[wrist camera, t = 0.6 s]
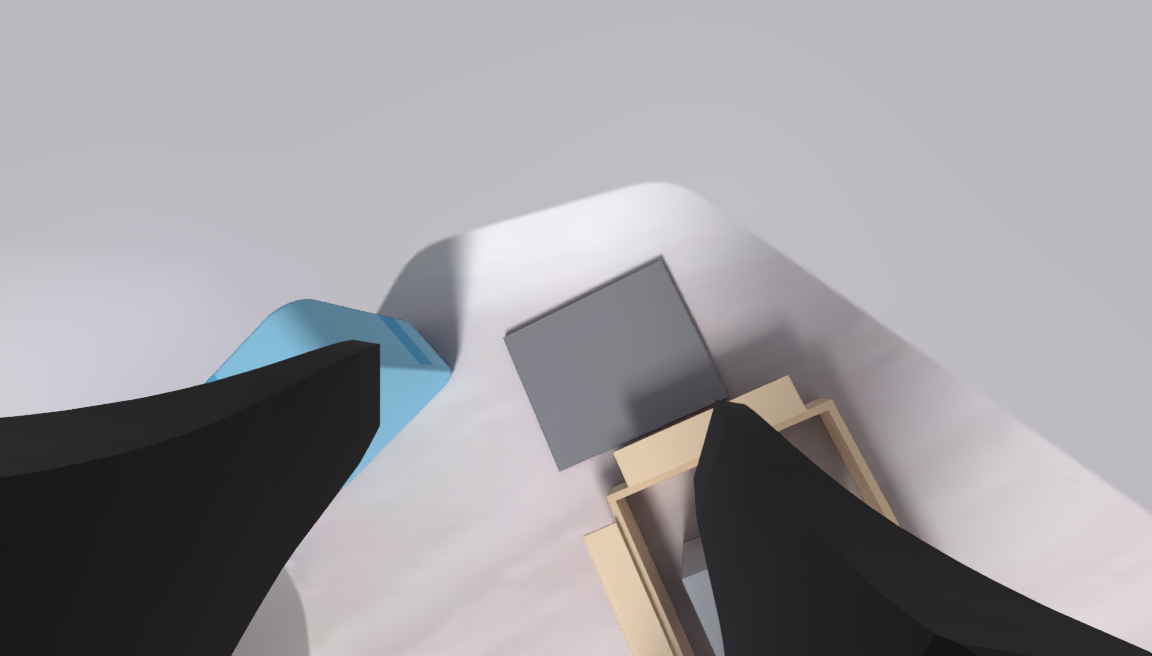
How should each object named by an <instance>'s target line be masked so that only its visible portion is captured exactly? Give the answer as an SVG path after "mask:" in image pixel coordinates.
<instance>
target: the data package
mask: <svg viewBox="0 0 1152 656" xmlns="http://www.w3.org/2000/svg"><path fill="white" fill-rule="evenodd" d="M347 340H358V341H364V342H370V343H377V344H380V427H379V429H378V431H377V433H376V435H375V437H374V438H373V440H372V442H371V444H370V446H369V448H368V450H367V451H366V453H365V455H364V457H363V459H362V460H361V462H360V464H359V465H358V467H357V468H356V469H355V471H354V472H353V473H352V475H351V476H350V478H349V479H348V480H347V482H346V483H345V484H344V486H346V485H347V484H348V483H349V482H350V481H351V480H352V479H353V478H354V477H355V476H356V475H357V474H358V473H359V472H360V471H361V470H362V469H363V468H364V467H365V466H366V465H367V464H368V463H369V462H370V461H371V460H372V459H373V458H374V457H375V456H376V455H377V454H378V453H379V452H380V451H381V450H382V449H383V448H384V447H385V446H386V445H387V444H388V443H389V442H390V441H391V440H392V439H393V438H394V437H395V436H396V435H397V434H398V433H399V432H400V431H401V430H402V429H403V428H404V427H405V426H406V425H407V424H408V423H409V422H410V421H411V420H412V419H413V418H414V417H415V416H416V415H417V413H418V412H419V411H420V410H421V409H422V408H423V407H424V406H425V405H426V404H427V403H428V402H429V401H430V400H431V399H432V398H433V397H434V396H435V395H436V394H437V393H438V392H439V391H440V390H441V389H442V388H443V387H444V386H445V385H446V383H447V382H448V381H449V379H450V377H451V369H450V368H449V367H448V365H447V364H446V363H445V362H444V361H443V360H442V359H441V357H440V356H439V355H438V354H437V353H436V352H435V351H434V349H433V348H432V347H431V346H430V345H429V344H428V342H427V341H426V340H425V339H424V338H423V337H422V336H421V334H420V333H419V332H418V331H417V330H416V329H415V328H414V326H413V325H412V324H411V323H409V322H407V321H403V320H399V319H394V318H390V317H386V316H382V315H377V314H373V313H368V312H364V311H360V310H356V309H351V308H347V307H343V306H339V305H334V304H330V303H326V302H321V301H317V300H312V299H303V300H297V301H294V302H291V303H288V304H286V305H284V306H282V307H280V308H278V309H277V310H275V311H274V312H273V313H271V314H270V315H269V316H268V317H267V318H266V319H265V320H264V321H263V322H262V323H261V324H260V325H259V326H258V327H257V328H256V329H255V330H254V332H253V333H252V334H251V335H250V336H249V337H248V338H247V339H246V340H245V341H244V342H243V343H242V344H241V345H240V346H239V348H238V349H237V350H236V351H235V352H234V353H233V354H232V355H231V356H230V357H229V358H228V359H227V360H226V361H225V362H224V364H222V366H221V367H220V368H219V369H218V370H217V371H216V372H215V373H214V374H213V375H212V376H211V377H210V379H208V380H207V382H206V383H209V382H213V381H216V380H220V379H223V378H226V377H230V376H233V375H236V374H240V373H243V372H247V371H250V370H253V369H257V368H260V367H263V366H267V365H270V364H273V363H276V362H279V361H282V360H285V359H288V358H291V357H294V356H297V355H300V354H303V353H306V352H309V351H312V350H315V349H318V348H321V347H325V346H328V345H331V344H335V343H338V342H342V341H347ZM344 486H343V487H344ZM343 487H342V488H343ZM342 488H341V489H342Z"/></svg>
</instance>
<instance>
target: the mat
mask: <svg viewBox="0 0 1152 656" xmlns="http://www.w3.org/2000/svg"><path fill="white" fill-rule="evenodd" d="M503 339H504V341H505V344H506V346H507V348H508V351H509V353H510V355H511V358H512V360H513V363H514V365H515V367H516V370H517V372H518V374H519V377H520V379H521V381H522V384H523V386H524V389H525V391H526V393H527V396H528V398H529V400H530V403H531V405H532V408H533V410H534V412H535V415H536V417H537V419H538V422H539V424H540V427H541V429H542V431H543V434H544V436H545V438H546V441H547V443H548V446H549V448H550V450H551V453H552V455H553V457H554V460H555V462H556V465H557V467H558V469H559V472H560V471H562V470H564V469H567V468H569V467H571V466H573V465H576V464H578V463H580V462H582V461H585V460H587V459H589V458H591V457H594V456H596V455H598V454H601V453H603V452H605V451H607V450H610V449H612V448H614V447H616V446H619V445H621V444H623V443H625V442H628V441H630V440H632V439H634V438H637V437H639V436H641V435H643V434H646V433H648V432H650V431H652V430H655V429H657V428H659V427H661V426H664V425H666V424H668V423H670V422H673V421H675V420H677V419H679V418H682V417H684V416H686V415H688V414H691V413H693V412H695V411H697V410H700V409H702V408H704V407H706V406H709V405H711V404H713V403H715V401H716V399H717V400H722V399H724V398H727V397H729V395H728V393H727V391H726V389H725V387H724V385H723V383H722V381H721V379H720V377H719V375H718V373H717V371H716V369H715V367H714V365H713V363H712V361H711V359H710V357H709V355H708V353H707V351H706V349H705V347H704V345H703V343H702V341H701V339H700V337H699V335H698V333H697V331H696V329H695V327H694V325H693V323H692V321H691V319H690V317H689V315H688V313H687V311H686V309H685V307H684V305H683V303H682V301H681V299H680V297H679V295H678V293H677V291H676V289H675V287H674V285H673V283H672V281H671V279H670V277H669V275H668V273H667V271H666V269H665V267H664V265H663V263H662V261H661V260H660V261H658V262H656V263H654V264H652V265H650V266H648V267H646V268H644V269H642V270H640V271H638V272H636V273H634V274H632V275H630V276H628V277H626V278H624V279H622V280H620V281H617V282H615V283H613V284H611V285H609V286H607V287H605V288H603V289H601V290H599V291H597V292H595V293H593V294H591V295H589V296H587V297H585V298H583V299H581V300H579V301H577V302H575V303H573V304H571V305H569V306H567V307H565V308H563V309H561V310H559V311H557V312H555V313H553V314H550V315H548V316H546V317H544V318H542V319H540V320H538V321H536V322H534V323H532V324H530V325H528V326H526V327H524V328H522V329H520V330H518V331H516V332H514V333H512V334H510V335H508V336H506V337H504V338H503Z"/></svg>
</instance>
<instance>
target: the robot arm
mask: <svg viewBox="0 0 1152 656" xmlns="http://www.w3.org/2000/svg"><path fill="white" fill-rule="evenodd" d="M379 427H380V344H377V343H370V342H364V341H358V340H347V341H342V342H338V343H335V344H331V345H328V346H325V347H321V348H318V349H315V350H312V351H309V352H306V353H303V354H300V355H297V356H294V357H291V358H288V359H285V360H282V361H279V362H276V363H273V364H270V365H267V366H263V367H260V368H257V369H253V370H250V371H247V372H243V373H240V374H236V375H233V376H230V377H226V378H223V379H220V380H216V381H213V382H209V383H205V384H202V385H198V386H193V387H190V388H185V389H181V390H177V391H172V392H168V393H163V394H158V395H154V396H149V397H144V398H139V399H134V400H128V401H121V402H115V403H110V404H103V405H97V406H90V407H84V408H78V409H72V410H66V411H58V412H50V413H41V414H32V415H24V416H15V417H3V418H0V656H231V655H232V653H233V652H234V649H235V648H236V646H237V644H238V643H239V641H240V639H241V637H242V636H243V634H244V632H245V630H246V629H247V627H248V625H249V623H250V622H251V620H252V618H253V616H254V615H255V613H256V611H257V610H258V608H259V606H260V605H261V603H262V601H263V600H264V598H265V596H266V595H267V593H268V591H269V590H270V588H271V586H272V585H273V583H274V581H275V580H276V578H277V577H278V575H279V573H280V572H281V570H282V568H283V567H284V565H285V564H286V563H287V561H288V560H289V558H290V557H291V555H292V554H293V552H294V551H295V549H296V548H297V547H298V545H299V544H300V543H301V541H302V540H303V539H304V537H305V536H306V535H307V533H308V532H309V531H310V529H311V528H312V527H313V525H314V524H315V523H316V522H317V520H318V519H319V518H320V516H321V515H322V514H323V512H324V511H325V510H326V508H327V507H328V506H329V504H330V503H331V502H332V500H333V499H334V498H335V496H336V495H337V494H338V492H339V491H340V490H341V488H342V487H343V486H344V484H345V483H346V482H347V480H348V479H349V478H350V476H351V475H352V473H353V472H354V471H355V469H356V468H357V467H358V465H359V464H360V462H361V460H362V459H363V457H364V455H365V453H366V451H367V450H368V448H369V446H370V444H371V442H372V440H373V438H374V437H375V435H376V433H377V431H378V429H379ZM694 488H695V503H696V514H697V523H698V527H699V532H700V537H701V542H702V546H703V551H704V556H705V560H706V565H707V569H708V574H709V578H710V582H711V587H712V591H713V596H714V600H715V605H716V609H717V614H718V618H719V624H720V629H721V635H722V640H723V647H724V655H725V656H1152V653H1151V652H1149V651H1147V650H1144V649H1142V648H1140V647H1137V646H1135V645H1133V644H1130V643H1128V642H1126V641H1124V640H1121V639H1119V638H1117V637H1114V636H1112V635H1110V634H1108V633H1105V632H1103V631H1101V630H1098V629H1096V628H1094V627H1091V626H1089V625H1087V624H1085V623H1082V622H1080V621H1078V620H1075V619H1073V618H1071V617H1069V616H1066V615H1064V614H1062V613H1059V612H1057V611H1055V610H1053V609H1050V608H1048V607H1046V606H1044V605H1042V604H1040V603H1038V602H1036V601H1034V600H1032V599H1030V598H1028V597H1026V596H1024V595H1022V594H1020V593H1018V592H1016V591H1014V590H1012V589H1010V588H1008V587H1006V586H1004V585H1002V584H1000V583H998V582H996V581H994V580H992V579H990V578H988V577H986V576H984V575H982V574H980V573H979V572H977V571H975V570H973V569H971V568H969V567H967V566H965V565H964V564H962V563H960V562H958V561H956V560H955V559H953V558H951V557H950V556H948V555H946V554H944V553H943V552H941V551H939V550H938V549H936V548H934V547H932V546H931V545H929V544H927V543H925V542H924V541H922V540H920V539H919V538H917V537H915V536H914V535H912V534H911V533H909V532H907V531H906V530H904V529H903V528H901V527H900V526H898V525H897V524H895V523H894V522H892V521H891V520H889V519H888V518H886V517H885V516H883V515H882V514H880V513H879V512H877V511H876V510H874V509H873V508H871V507H870V506H868V505H867V504H866V503H864V502H863V501H861V500H860V499H859V498H857V497H856V496H855V495H853V494H852V493H851V492H849V491H848V490H847V489H845V488H844V487H843V486H842V485H840V484H839V483H838V482H836V481H835V480H834V479H833V478H831V477H830V476H829V475H828V474H826V473H825V472H824V471H823V470H821V469H820V468H819V467H818V466H817V465H815V464H814V463H813V462H812V461H811V460H809V459H808V458H807V457H806V456H805V455H804V454H802V453H801V452H800V451H799V450H798V449H797V448H796V447H794V446H793V445H792V444H791V443H790V442H789V441H788V440H787V439H785V438H784V437H783V436H782V435H781V434H780V433H779V432H778V431H777V430H775V429H774V428H773V427H772V426H771V425H770V424H769V423H768V422H766V421H765V420H764V419H763V418H762V417H761V416H760V415H758V414H757V413H756V412H755V411H754V410H752V409H751V408H750V407H748V406H747V405H746V404H742V403H735V402H729V401H723V400H717V399H716V401H715V404H714V408H713V412H712V415H711V419H710V422H709V426H708V429H707V433H706V437H705V440H704V444H703V447H702V451H701V454H700V458H699V462H698V465H697V469H696V472H695V476H694Z"/></svg>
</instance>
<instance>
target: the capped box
mask: <svg viewBox="0 0 1152 656" xmlns="http://www.w3.org/2000/svg"><path fill="white" fill-rule="evenodd" d="M681 580H682V582H683V584H684V586H685V588H686V591H687V593H688V595H689V597H690V600H691V602H692V604H693V606H694V609H695V611H696V613H697V615H698V617H699V620H700V622H701V624H702V626H703V629H704V631H705V633H706V635H707V638H708V640H709V642H710V644H711V646H712V649H713V651H714V653H715V655H716V656H725V655H724V647H723V640H722V635H721V629H720V624H719V618H718V614H717V609H716V605H715V600H714V596H713V591H712V587H711V582H710V578H709V574H708V569H707V565H706V560H705V556H704V551H703V546H702V542H701V537H700V536H699V537H697V538H694V539H692V540H690V541H687V542H685V543H683V557H682V578H681Z"/></svg>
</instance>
